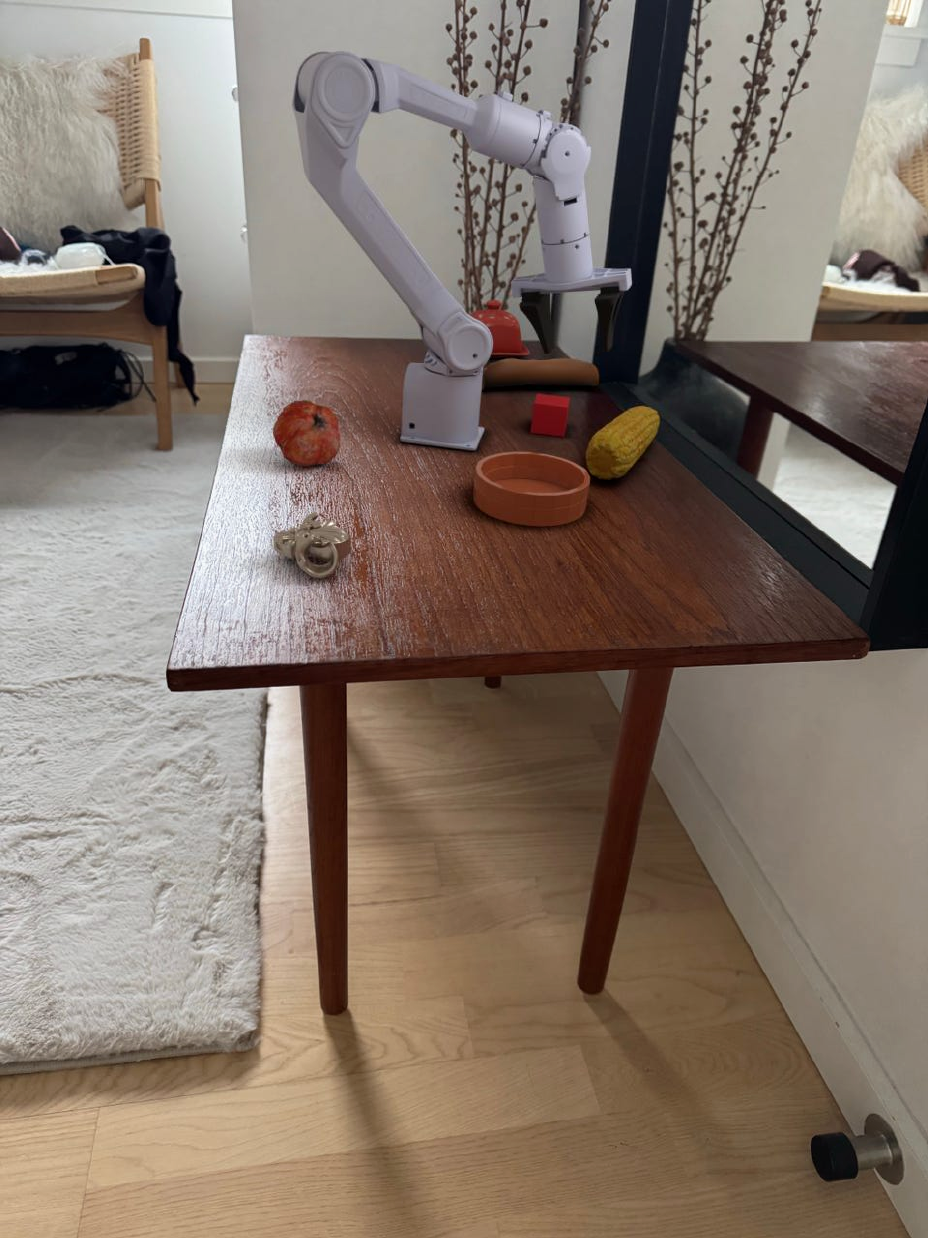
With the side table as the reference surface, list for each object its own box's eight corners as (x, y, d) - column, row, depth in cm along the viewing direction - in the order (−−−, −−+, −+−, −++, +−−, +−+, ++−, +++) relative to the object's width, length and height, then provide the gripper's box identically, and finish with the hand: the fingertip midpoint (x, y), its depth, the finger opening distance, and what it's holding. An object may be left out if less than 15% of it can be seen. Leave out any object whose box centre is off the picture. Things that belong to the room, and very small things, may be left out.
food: (623, 492, 101) (632, 442, 98) (576, 481, 103) (583, 432, 99) (662, 438, 118) (671, 394, 115) (621, 430, 119) (628, 386, 116)
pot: (464, 517, 92) (467, 485, 90) (482, 474, 102) (484, 445, 100) (582, 533, 91) (587, 501, 89) (587, 488, 101) (592, 459, 99)
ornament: (278, 539, 84) (277, 504, 82) (351, 542, 85) (351, 507, 83) (269, 580, 78) (267, 543, 76) (348, 582, 78) (348, 545, 76)
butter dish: (463, 361, 144) (467, 306, 139) (450, 342, 153) (453, 291, 149) (531, 362, 146) (537, 308, 142) (514, 344, 156) (519, 293, 151)
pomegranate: (266, 477, 103) (284, 451, 94) (263, 416, 103) (280, 384, 94) (329, 479, 106) (352, 454, 97) (325, 419, 106) (348, 389, 97)
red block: (530, 432, 116) (533, 402, 114) (533, 422, 120) (537, 393, 118) (563, 437, 116) (567, 407, 114) (566, 426, 119) (570, 397, 117)
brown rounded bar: (578, 372, 141) (592, 341, 135) (589, 407, 138) (603, 376, 132) (469, 372, 136) (478, 340, 130) (477, 408, 133) (487, 376, 127)
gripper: (634, 221, 104) (642, 335, 111) (519, 232, 110) (534, 339, 117) (618, 239, 99) (628, 357, 106) (498, 250, 105) (516, 360, 113)
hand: (578, 349), depth 112 cm, fingers open, 7 cm apart
